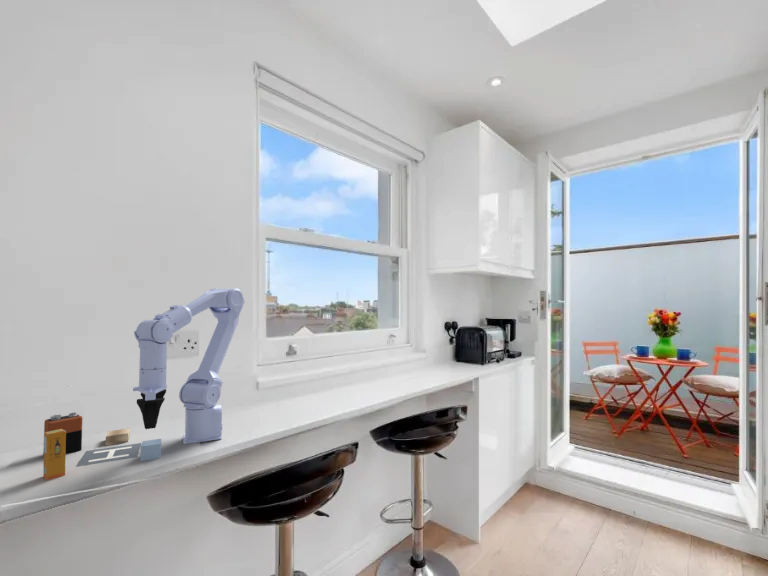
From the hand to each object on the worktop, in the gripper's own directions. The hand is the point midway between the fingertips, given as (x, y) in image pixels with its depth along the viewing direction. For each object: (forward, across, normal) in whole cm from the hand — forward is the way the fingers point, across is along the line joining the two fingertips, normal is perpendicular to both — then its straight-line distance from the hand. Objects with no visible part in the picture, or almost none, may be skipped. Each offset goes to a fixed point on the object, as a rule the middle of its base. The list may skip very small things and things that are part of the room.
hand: (151, 423), depth 93 cm
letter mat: (+8, -7, -9) cm, 14 cm away
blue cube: (+8, 0, 0) cm, 9 cm away
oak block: (+9, -18, -9) cm, 22 cm away
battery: (+9, -14, -20) cm, 26 cm away
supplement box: (+9, +2, -18) cm, 20 cm away
